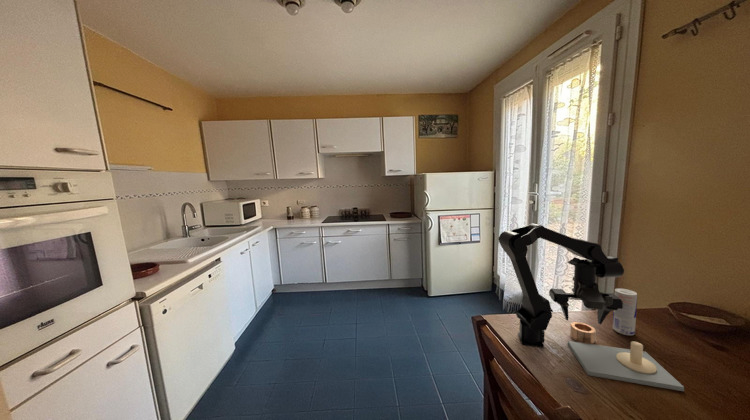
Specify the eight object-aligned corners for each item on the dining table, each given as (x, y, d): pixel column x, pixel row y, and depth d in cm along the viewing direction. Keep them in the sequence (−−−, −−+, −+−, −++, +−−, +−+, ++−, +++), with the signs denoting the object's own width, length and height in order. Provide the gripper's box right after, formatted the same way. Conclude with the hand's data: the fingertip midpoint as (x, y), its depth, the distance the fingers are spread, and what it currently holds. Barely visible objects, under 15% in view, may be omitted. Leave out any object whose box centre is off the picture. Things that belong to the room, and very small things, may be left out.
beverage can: (639, 337, 85) (642, 295, 84) (620, 335, 86) (622, 294, 85) (626, 327, 90) (629, 288, 89) (608, 326, 92) (610, 287, 90)
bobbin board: (587, 374, 70) (588, 351, 69) (567, 344, 83) (568, 323, 82) (683, 391, 63) (686, 365, 63) (645, 355, 76) (646, 333, 76)
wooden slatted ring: (575, 342, 84) (575, 331, 83) (567, 331, 90) (567, 321, 89) (598, 345, 82) (599, 334, 81) (589, 334, 88) (589, 323, 87)
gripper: (561, 284, 79) (559, 330, 81) (636, 290, 73) (633, 340, 74) (549, 272, 89) (547, 313, 91) (614, 276, 83) (611, 320, 85)
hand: (582, 321), depth 85 cm, fingers open, 9 cm apart
